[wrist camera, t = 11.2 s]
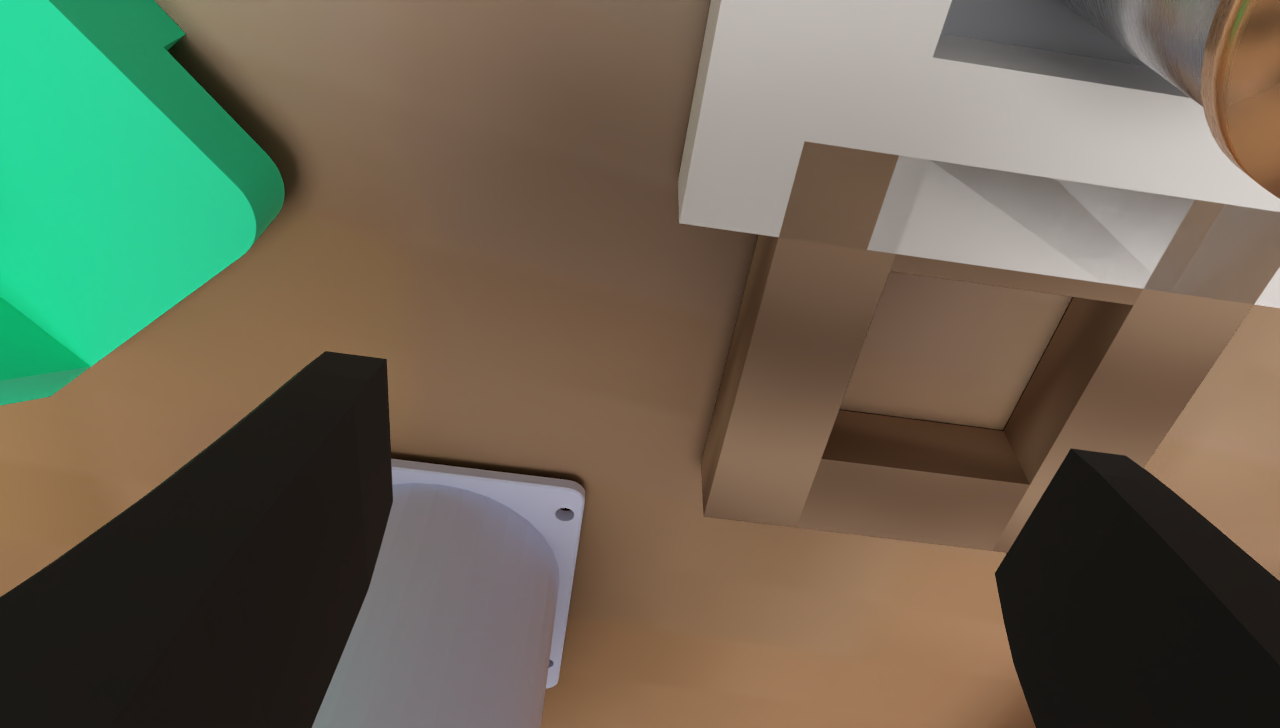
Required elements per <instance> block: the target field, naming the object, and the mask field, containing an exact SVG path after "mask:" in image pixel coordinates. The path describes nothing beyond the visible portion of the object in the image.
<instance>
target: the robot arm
mask: <svg viewBox="0 0 1280 728" xmlns="http://www.w3.org/2000/svg"><path fill="white" fill-rule="evenodd" d="M584 503H585V490H584V488H583V487H582V486H581V485H580V484H578V483H577V482H574V481H571V480H564V479H556V478H548V477H539V476H531V475H523V474H514V473H506V472H498V471H490V470H481V469H473V468H465V467H456V466H448V465H440V464H431V463H423V462H415V461H407V460H398V459H391V445H390V423H389V402H388V380H387V359H381V358H373V357H365V356H358V355H350V354H342V353H335V352H327V351H326V352H324V353H323V354H321V355H320V356H319V357H317V358H316V359H315V360H313V361H312V362H311V363H310V364H308V365H307V366H306V367H305V368H303V369H302V370H301V371H300V372H298V373H297V374H296V375H295V376H294V377H292V378H291V379H290V380H289V381H288V382H286V383H285V384H284V385H283V386H282V387H280V388H279V389H278V390H277V391H276V392H274V393H273V394H272V395H271V396H270V397H268V398H267V399H266V400H265V401H264V402H262V403H261V404H260V405H259V406H258V407H256V408H255V409H254V410H253V411H252V412H250V413H249V414H248V415H247V416H246V417H244V418H243V419H242V420H241V421H239V422H238V423H237V424H236V425H235V426H233V427H232V428H231V429H230V430H228V431H227V432H226V433H225V434H224V435H222V436H221V437H220V438H219V439H217V440H216V441H215V442H214V443H212V444H211V445H210V446H208V447H207V448H206V449H205V450H203V451H202V452H201V453H200V454H198V455H197V456H196V457H194V458H193V459H192V460H191V461H189V462H188V463H187V464H185V465H184V466H183V467H182V468H180V469H179V470H178V471H177V472H175V473H174V474H173V475H171V476H170V477H169V478H168V479H166V480H165V481H164V482H163V483H161V484H160V485H159V486H157V487H156V488H155V489H153V490H152V491H151V492H150V493H148V494H147V495H146V496H144V497H143V498H142V499H140V500H139V501H138V502H136V503H135V504H133V505H132V506H131V507H129V508H128V509H126V510H125V511H124V512H122V513H121V514H119V515H118V516H117V517H115V518H114V519H112V520H111V521H110V522H108V523H107V524H106V525H104V526H103V527H101V528H100V529H99V530H97V531H96V532H94V533H93V534H92V535H90V536H89V537H87V538H86V539H85V540H83V541H82V542H80V543H79V544H78V545H76V546H75V547H73V548H72V549H71V550H69V551H68V552H66V553H65V554H64V555H62V556H61V557H59V558H58V559H57V560H55V561H54V562H52V563H51V564H49V565H48V566H46V567H45V568H44V569H42V570H41V571H39V572H38V573H36V574H35V575H33V576H32V577H30V578H29V579H27V580H26V581H24V582H23V583H21V584H20V585H18V586H17V587H15V588H14V589H12V590H11V591H9V592H8V593H6V594H5V595H3V596H2V597H0V728H541V722H542V715H543V707H544V699H545V691H546V689H548V688H551V687H553V686H555V685H556V684H557V683H558V680H559V673H560V666H561V660H562V653H563V646H564V639H565V632H566V626H567V619H568V612H569V605H570V598H571V592H572V585H573V578H574V571H575V564H576V558H577V551H578V544H579V537H580V530H581V524H582V517H583V510H584ZM560 508H568V509H570V511H564V510H561V509H560ZM995 577H996V582H997V587H998V592H999V598H1000V603H1001V608H1002V614H1003V619H1004V624H1005V628H1006V632H1007V637H1008V641H1009V645H1010V650H1011V654H1012V658H1013V663H1014V666H1015V669H1016V672H1017V675H1018V678H1019V680H1020V683H1021V686H1022V689H1023V692H1024V695H1025V698H1026V701H1027V704H1028V706H1029V709H1030V712H1031V715H1032V718H1033V721H1034V723H1035V726H1036V728H1280V581H1279V580H1277V579H1276V578H1275V577H1274V576H1273V575H1272V574H1270V573H1269V572H1268V571H1267V570H1266V569H1264V568H1263V567H1262V566H1261V565H1260V564H1259V563H1257V562H1256V561H1255V560H1254V559H1253V558H1252V557H1250V556H1249V555H1248V554H1247V553H1246V552H1244V551H1243V550H1242V549H1241V548H1240V547H1239V546H1237V545H1236V544H1235V543H1234V542H1233V541H1232V540H1230V539H1229V538H1228V537H1227V536H1226V535H1224V534H1223V533H1222V532H1221V531H1220V530H1219V529H1217V528H1216V527H1215V526H1214V525H1213V524H1212V523H1210V522H1209V521H1208V520H1207V519H1206V518H1204V517H1203V516H1202V515H1201V514H1200V513H1198V512H1197V511H1196V510H1195V509H1194V508H1192V507H1191V506H1190V505H1189V504H1188V503H1186V502H1185V501H1184V500H1183V499H1182V498H1180V497H1179V496H1178V495H1177V494H1176V493H1174V492H1173V491H1172V490H1171V489H1169V488H1168V487H1167V486H1166V485H1164V484H1163V483H1162V482H1161V481H1159V480H1158V479H1157V478H1155V477H1154V476H1153V475H1152V474H1150V473H1149V472H1148V471H1146V470H1145V469H1144V468H1142V467H1141V466H1140V465H1138V464H1137V463H1135V462H1134V461H1133V460H1131V459H1130V458H1129V457H1127V456H1125V455H1118V454H1110V453H1102V452H1094V451H1087V450H1079V449H1070V451H1069V452H1068V454H1067V456H1066V457H1065V459H1064V460H1063V462H1062V464H1061V465H1060V467H1059V469H1058V470H1057V472H1056V474H1055V475H1054V477H1053V479H1052V480H1051V482H1050V484H1049V485H1048V487H1047V488H1046V490H1045V492H1044V493H1043V495H1042V497H1041V498H1040V500H1039V502H1038V503H1037V505H1036V507H1035V508H1034V510H1033V512H1032V513H1031V515H1030V516H1029V518H1028V520H1027V521H1026V523H1025V525H1024V526H1023V528H1022V530H1021V531H1020V533H1019V535H1018V536H1017V538H1016V540H1015V541H1014V543H1013V544H1012V546H1011V548H1010V549H1009V551H1008V553H1007V554H1006V556H1005V558H1004V559H1003V561H1002V563H1001V564H1000V566H999V568H998V569H997V571H996V572H995Z"/></svg>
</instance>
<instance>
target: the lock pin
mask: <svg viewBox="0 0 1280 728" xmlns="http://www.w3.org/2000/svg"><path fill="white" fill-rule="evenodd" d="M1059 1H1060V2H1061V3H1063V4H1064V5H1065V6H1067V7H1068V8H1069V9H1071V10H1072V11H1074V12H1075V13H1076V14H1078V15H1079V16H1080V17H1082V18H1083V19H1084V20H1086V21H1087V22H1088V23H1090V24H1091V25H1092V26H1094V27H1095V28H1097V29H1098V30H1099V31H1101V32H1102V33H1103V34H1105V35H1106V36H1107V37H1109V38H1110V39H1111V40H1113V41H1114V42H1116V43H1117V44H1118V45H1120V46H1121V47H1122V48H1124V49H1125V50H1126V51H1128V52H1129V53H1130V54H1132V55H1133V56H1135V57H1136V58H1137V59H1139V60H1140V61H1141V62H1143V63H1144V64H1145V65H1147V66H1148V67H1149V68H1151V69H1152V70H1154V71H1155V72H1156V73H1158V74H1159V75H1160V76H1162V77H1163V78H1164V79H1166V80H1167V81H1168V82H1170V83H1171V84H1173V85H1174V86H1175V87H1177V88H1178V89H1179V90H1181V91H1182V92H1183V93H1185V94H1186V95H1187V96H1189V97H1190V98H1191V99H1193V100H1194V101H1196V102H1197V103H1198V104H1200V105H1201V106H1202V107H1203V108H1204V113H1205V118H1206V121H1207V123H1208V126H1209V129H1210V131H1211V134H1212V136H1213V138H1214V139H1215V141H1216V143H1217V144H1218V146H1219V147H1220V149H1221V151H1222V152H1223V153H1224V154H1225V155H1226V156H1227V157H1228V158H1229V159H1230V161H1231V162H1232V163H1233V164H1234V165H1235V166H1237V167H1238V168H1239V169H1240V170H1242V171H1243V172H1244V173H1245V174H1247V175H1248V176H1249V177H1250V178H1252V179H1253V180H1254V181H1255V182H1257V183H1258V184H1259V185H1260V186H1262V187H1263V188H1264V189H1266V190H1267V191H1269V192H1270V193H1272V194H1273V195H1274V196H1276V197H1277V198H1279V199H1280V0H1059Z"/></svg>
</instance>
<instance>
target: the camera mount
mask: <svg viewBox="0 0 1280 728" xmlns="http://www.w3.org/2000/svg"><path fill="white" fill-rule="evenodd" d="M184 35H185V33H184V32H183V31H182V30H181V28H180V27H179V26H178V25H177V24H176V23H175V22H174V21H173V20H172V19H171V18H170V17H169V16H168V15H167V14H166V13H165V12H164V11H163V9H162V8H161V7H160V6H159V5H158V4H157V3H156V2H155V1H154V0H0V406H1V405H6V404H12V403H17V402H23V401H28V400H34V399H39V398H45V397H50V396H52V395H53V394H54V393H56V392H57V391H59V390H60V389H61V388H63V387H64V386H65V385H67V384H68V383H69V382H71V381H72V380H74V379H75V378H76V377H78V376H79V375H80V374H82V373H83V372H84V371H86V370H87V369H89V368H90V367H91V366H93V365H94V364H95V363H97V362H98V361H99V360H101V359H102V358H104V357H105V356H106V355H108V354H109V353H110V352H112V351H113V350H114V349H116V348H117V347H119V346H120V345H121V344H123V343H124V342H125V341H127V340H128V339H129V338H131V337H132V336H134V335H135V334H136V333H138V332H139V331H140V330H142V329H143V328H144V327H146V326H147V325H149V324H150V323H151V322H153V321H154V320H155V319H157V318H158V317H159V316H161V315H162V314H164V313H165V312H166V311H168V310H169V309H170V308H172V307H173V306H174V305H176V304H177V303H179V302H180V301H181V300H183V299H184V298H185V297H187V296H188V295H189V294H191V293H192V292H194V291H195V290H196V289H198V288H199V287H200V286H202V285H203V284H204V283H206V282H207V281H209V280H210V279H211V278H213V277H214V276H215V275H217V274H218V273H219V272H221V271H222V270H224V269H225V268H226V267H228V266H229V265H230V264H232V263H233V262H234V261H236V260H237V259H239V258H240V257H241V256H243V255H244V254H245V253H246V252H247V251H248V250H249V249H250V248H251V246H252V245H253V244H254V243H255V242H256V240H257V239H258V238H259V237H260V236H261V234H262V233H263V232H264V231H265V230H266V228H267V227H268V226H269V225H270V224H271V222H272V221H273V220H274V219H275V218H276V216H277V215H278V214H279V212H280V211H281V209H282V206H283V203H284V198H285V189H284V183H283V180H282V177H281V174H280V172H279V170H278V168H277V166H276V165H275V163H274V162H273V161H272V159H271V158H270V157H269V156H268V155H267V153H266V152H265V151H264V150H263V149H262V148H261V147H260V146H259V145H258V144H257V143H256V142H255V141H254V140H253V139H252V138H251V137H250V136H249V135H248V134H247V133H246V132H245V131H244V130H243V129H242V128H241V127H240V126H239V125H238V124H237V122H236V121H235V120H234V119H233V118H232V117H231V116H230V115H229V114H228V113H227V112H226V111H225V110H224V109H223V108H222V107H221V106H220V105H219V104H218V103H217V102H216V101H215V100H214V99H213V98H212V97H211V96H210V95H209V94H208V93H207V92H206V91H205V89H204V88H203V87H202V86H201V85H200V84H199V83H198V82H197V81H196V80H195V79H194V78H193V77H192V76H191V75H190V74H189V73H188V72H187V71H186V70H185V69H184V68H183V67H182V66H181V65H180V64H179V63H178V62H177V61H176V60H175V59H174V57H173V56H172V55H171V54H170V53H169V52H168V51H167V50H169V49H170V48H171V47H172V46H173V45H174V44H175V43H176V42H177V41H179V40H180V39H181V38H182V37H183V36H184Z"/></svg>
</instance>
